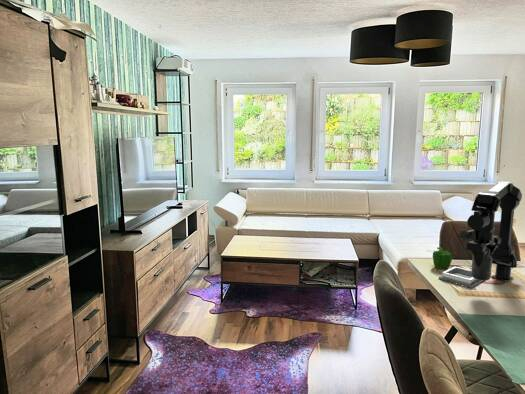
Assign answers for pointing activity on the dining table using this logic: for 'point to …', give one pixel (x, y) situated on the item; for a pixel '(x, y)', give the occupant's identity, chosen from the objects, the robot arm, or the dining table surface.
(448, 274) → the gray square tray
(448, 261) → the bell pepper
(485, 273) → the supplement bottle
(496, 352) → the dining table surface
